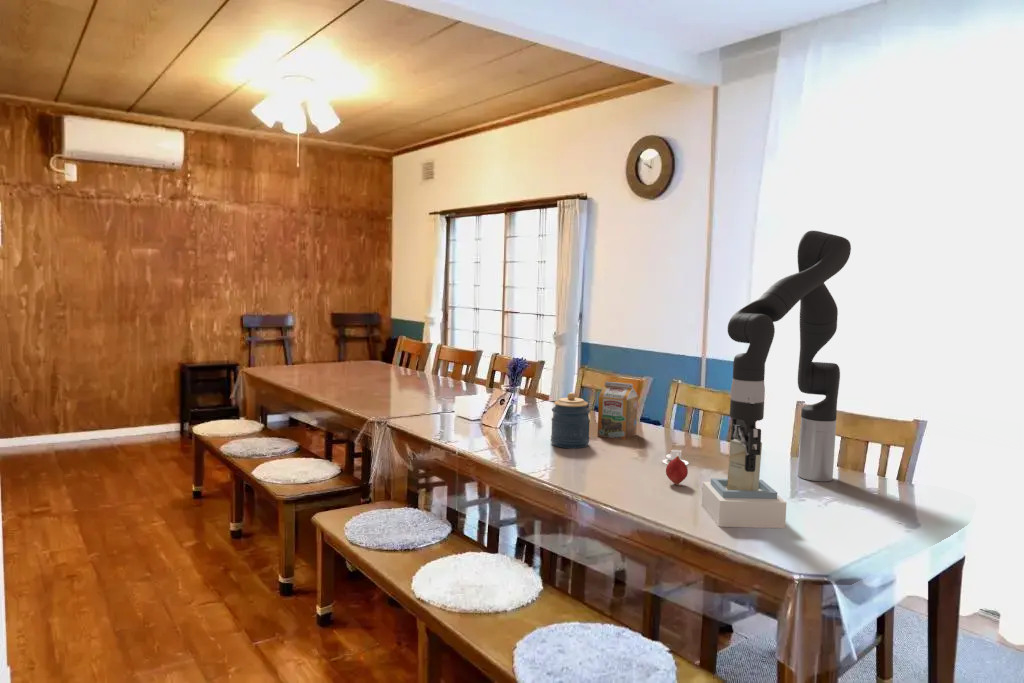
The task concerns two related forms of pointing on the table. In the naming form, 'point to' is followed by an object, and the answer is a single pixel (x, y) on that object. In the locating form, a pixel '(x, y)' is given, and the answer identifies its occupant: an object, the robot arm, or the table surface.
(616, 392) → the milk carton
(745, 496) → the frame
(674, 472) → the onion
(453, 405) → the table surface
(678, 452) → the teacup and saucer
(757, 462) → the skincare box
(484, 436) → the table surface
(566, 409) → the canister
